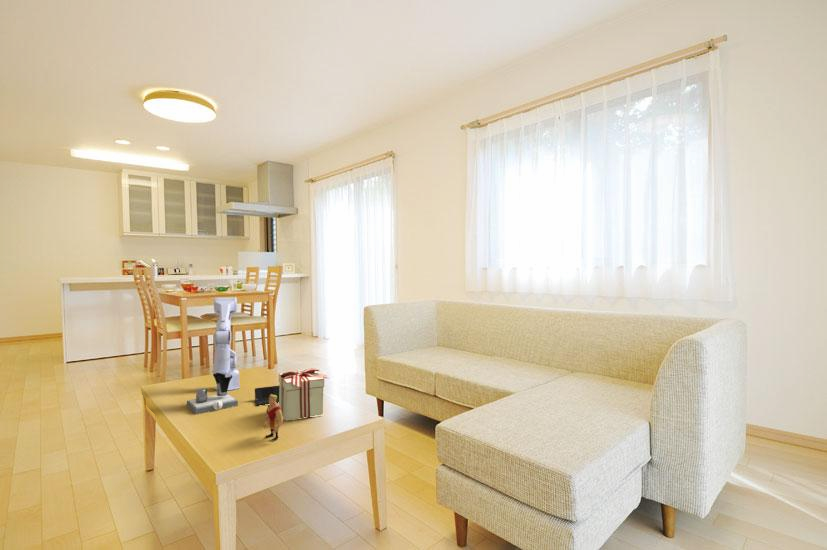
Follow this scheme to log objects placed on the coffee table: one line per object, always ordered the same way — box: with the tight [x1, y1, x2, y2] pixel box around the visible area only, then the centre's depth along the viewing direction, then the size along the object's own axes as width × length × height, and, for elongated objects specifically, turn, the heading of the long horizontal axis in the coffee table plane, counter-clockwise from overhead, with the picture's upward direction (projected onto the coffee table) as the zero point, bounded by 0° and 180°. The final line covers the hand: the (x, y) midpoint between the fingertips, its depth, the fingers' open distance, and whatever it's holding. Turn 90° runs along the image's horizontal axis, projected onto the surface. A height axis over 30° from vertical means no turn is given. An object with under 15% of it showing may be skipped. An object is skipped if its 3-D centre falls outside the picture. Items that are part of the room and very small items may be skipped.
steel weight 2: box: [216, 383, 228, 396], centre depth 172 cm, size 4×4×5 cm
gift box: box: [278, 367, 329, 422], centre depth 160 cm, size 17×18×17 cm
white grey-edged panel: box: [186, 393, 239, 415], centre depth 169 cm, size 16×15×4 cm
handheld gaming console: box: [254, 385, 280, 407], centre depth 176 cm, size 12×7×10 cm
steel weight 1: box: [195, 387, 208, 403], centre depth 167 cm, size 4×4×5 cm
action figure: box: [262, 394, 284, 441], centre depth 136 cm, size 10×4×15 cm, turn 47°
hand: (222, 390), depth 172 cm, fingers closed on steel weight 2, 4 cm apart
